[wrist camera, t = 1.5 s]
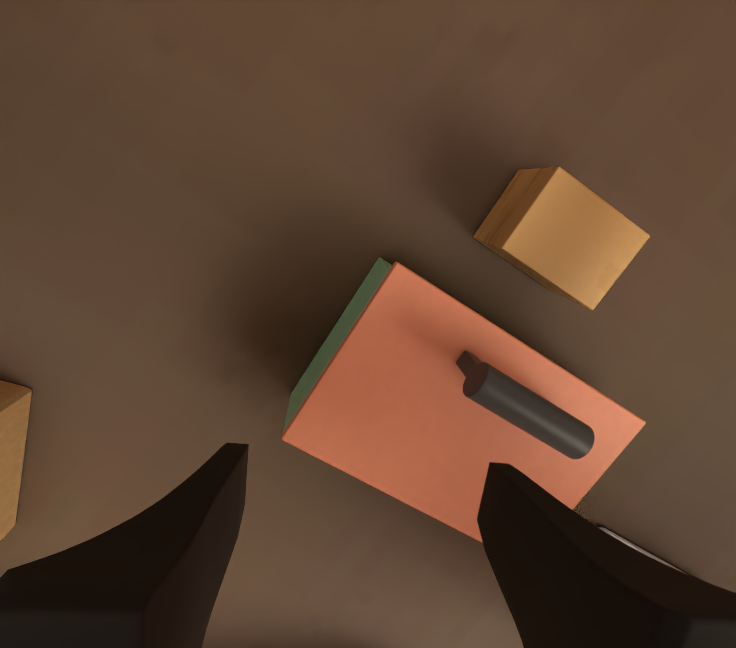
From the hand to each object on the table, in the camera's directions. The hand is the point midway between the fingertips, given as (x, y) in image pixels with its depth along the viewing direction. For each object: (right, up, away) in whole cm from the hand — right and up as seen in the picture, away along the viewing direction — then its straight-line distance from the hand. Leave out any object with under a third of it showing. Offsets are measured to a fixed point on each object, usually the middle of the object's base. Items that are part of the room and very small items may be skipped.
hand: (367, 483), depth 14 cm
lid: (+4, 0, +7) cm, 8 cm away
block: (+8, +9, +8) cm, 15 cm away
